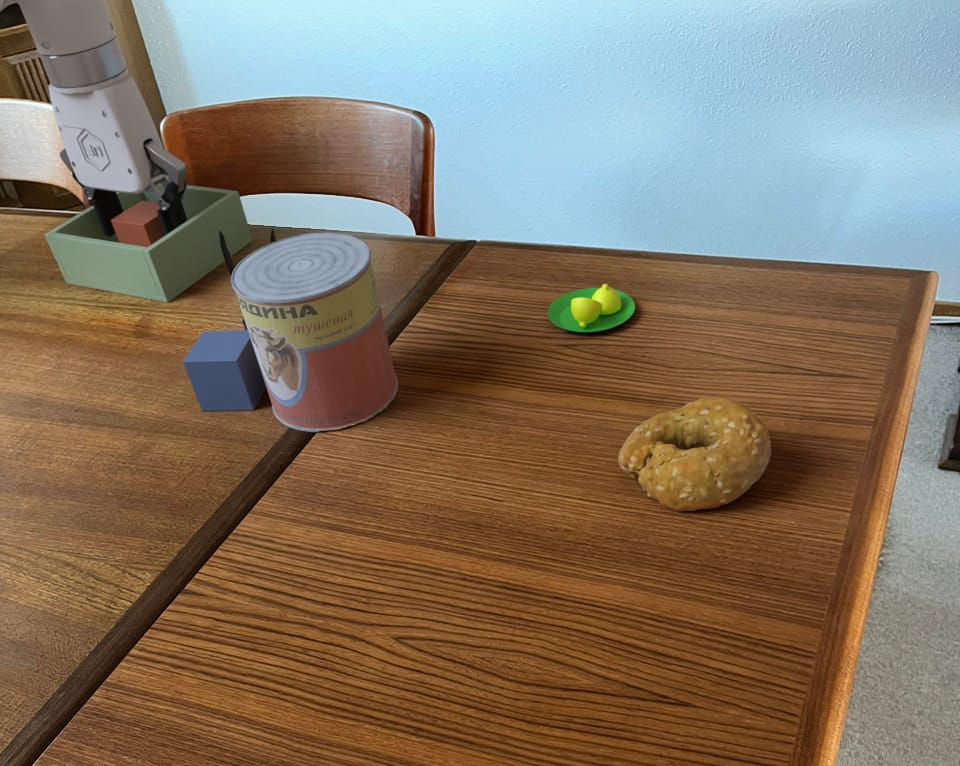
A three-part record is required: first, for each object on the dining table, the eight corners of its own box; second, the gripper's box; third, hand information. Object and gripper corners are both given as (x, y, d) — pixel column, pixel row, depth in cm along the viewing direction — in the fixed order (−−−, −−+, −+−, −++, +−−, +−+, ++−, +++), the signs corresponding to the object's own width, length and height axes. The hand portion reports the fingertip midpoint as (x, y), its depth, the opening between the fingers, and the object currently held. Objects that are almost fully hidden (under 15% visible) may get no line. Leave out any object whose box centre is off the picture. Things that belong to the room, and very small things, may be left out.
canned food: (246, 411, 85) (201, 282, 77) (332, 349, 91) (299, 223, 82) (338, 446, 80) (301, 312, 71) (423, 378, 86) (399, 246, 77)
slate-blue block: (201, 411, 86) (182, 361, 83) (220, 380, 90) (202, 331, 86) (253, 410, 85) (236, 360, 82) (271, 379, 89) (255, 329, 85)
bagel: (649, 422, 77) (650, 369, 73) (786, 452, 72) (794, 397, 69) (595, 496, 71) (592, 443, 68) (739, 533, 67) (745, 478, 63)
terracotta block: (128, 264, 108) (110, 219, 105) (158, 244, 111) (141, 200, 108) (160, 269, 106) (143, 224, 103) (190, 249, 109) (174, 204, 106)
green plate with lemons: (621, 341, 86) (620, 312, 84) (536, 334, 88) (533, 305, 86) (645, 297, 90) (645, 268, 88) (563, 291, 93) (561, 263, 91)
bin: (66, 283, 108) (43, 234, 104) (153, 226, 116) (136, 178, 112) (167, 302, 102) (148, 251, 98) (253, 240, 110) (238, 190, 106)
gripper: (-3, 73, 96) (70, 242, 109) (121, 82, 89) (184, 261, 101) (52, 48, 100) (116, 213, 113) (175, 55, 93) (229, 230, 106)
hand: (148, 236), depth 107 cm, fingers open, 9 cm apart
